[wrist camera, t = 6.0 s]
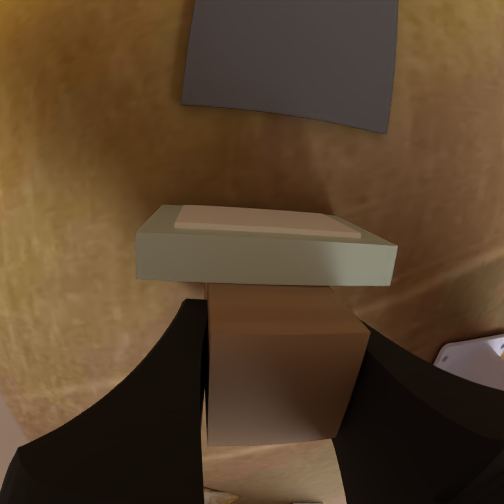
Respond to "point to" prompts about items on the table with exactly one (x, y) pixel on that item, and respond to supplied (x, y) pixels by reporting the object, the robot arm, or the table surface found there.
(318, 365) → the oak push block
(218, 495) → the snack bar
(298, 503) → the skincare box
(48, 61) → the table surface
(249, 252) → the sage tile
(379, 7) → the mat
